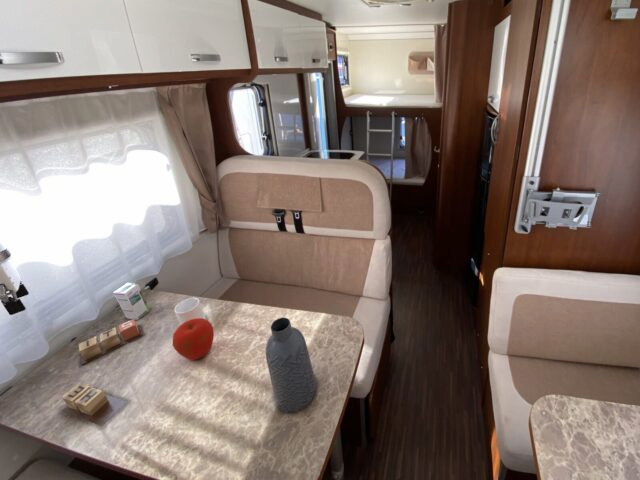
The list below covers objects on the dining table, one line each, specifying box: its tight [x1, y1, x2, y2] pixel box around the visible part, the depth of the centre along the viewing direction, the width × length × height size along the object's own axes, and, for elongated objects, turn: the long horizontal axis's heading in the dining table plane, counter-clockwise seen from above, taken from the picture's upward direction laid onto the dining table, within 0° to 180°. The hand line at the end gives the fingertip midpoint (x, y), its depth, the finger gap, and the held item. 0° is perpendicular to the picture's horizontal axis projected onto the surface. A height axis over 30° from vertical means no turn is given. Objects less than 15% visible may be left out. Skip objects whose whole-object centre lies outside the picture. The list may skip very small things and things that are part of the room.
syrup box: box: [113, 282, 151, 321], centre depth 123 cm, size 6×6×14 cm
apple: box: [172, 318, 215, 361], centre depth 104 cm, size 12×12×14 cm
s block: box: [118, 319, 139, 340], centre depth 114 cm, size 4×4×5 cm
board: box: [78, 324, 144, 366], centre depth 111 cm, size 17×7×6 cm, turn 134°
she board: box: [61, 382, 128, 427], centre depth 90 cm, size 17×7×6 cm, turn 74°
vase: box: [265, 317, 317, 414], centre depth 87 cm, size 12×12×28 cm
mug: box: [173, 297, 207, 326], centre depth 118 cm, size 12×8×10 cm
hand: (20, 304), depth 94 cm, fingers open, 9 cm apart
